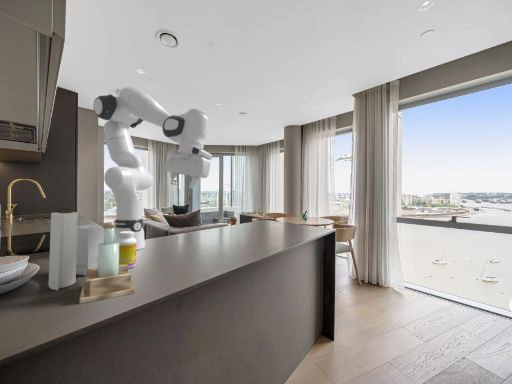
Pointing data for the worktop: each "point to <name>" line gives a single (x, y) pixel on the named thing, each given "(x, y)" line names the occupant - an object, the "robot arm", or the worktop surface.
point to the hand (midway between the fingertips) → (181, 186)
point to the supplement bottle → (127, 249)
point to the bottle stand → (106, 285)
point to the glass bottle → (108, 253)
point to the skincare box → (88, 247)
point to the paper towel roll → (63, 249)
